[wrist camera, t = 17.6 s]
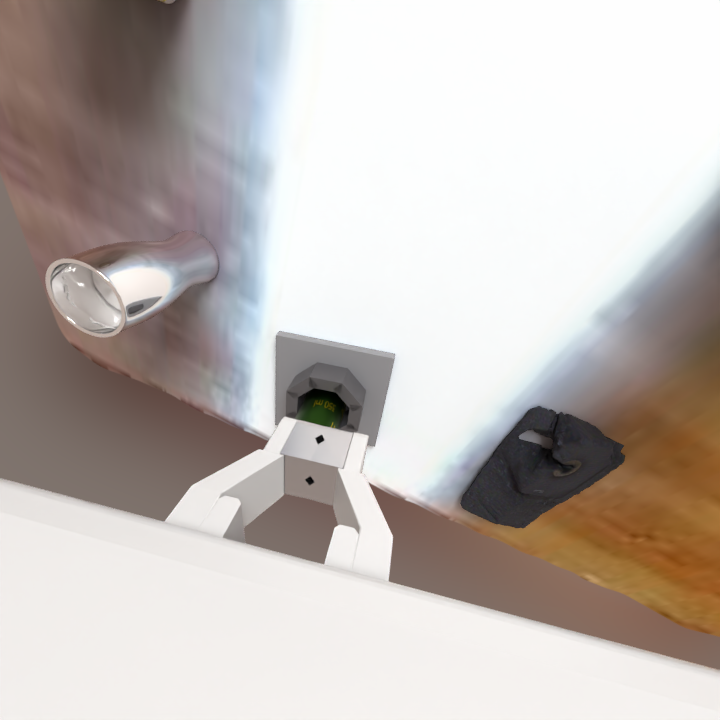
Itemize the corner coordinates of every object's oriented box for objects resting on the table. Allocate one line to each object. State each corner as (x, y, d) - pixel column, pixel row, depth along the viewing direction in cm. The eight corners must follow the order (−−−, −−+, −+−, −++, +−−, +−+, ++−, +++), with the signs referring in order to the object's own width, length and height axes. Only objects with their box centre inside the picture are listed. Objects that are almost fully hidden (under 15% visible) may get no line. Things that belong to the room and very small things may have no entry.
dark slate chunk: (441, 489, 53) (443, 516, 49) (539, 393, 42) (552, 418, 38) (522, 527, 54) (530, 556, 50) (637, 445, 43) (660, 474, 39)
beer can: (310, 408, 46) (279, 476, 36) (308, 376, 44) (273, 440, 33) (348, 412, 46) (327, 483, 35) (348, 380, 43) (325, 446, 33)
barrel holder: (395, 354, 41) (392, 373, 37) (375, 440, 49) (371, 464, 45) (279, 331, 42) (264, 348, 38) (278, 419, 50) (266, 441, 46)
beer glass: (176, 212, 37) (46, 236, 24) (231, 250, 38) (135, 292, 25) (160, 264, 40) (38, 308, 27) (211, 297, 41) (118, 354, 29)
